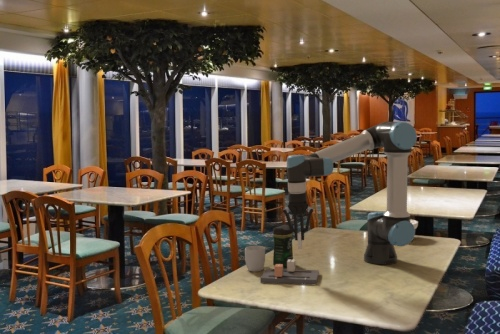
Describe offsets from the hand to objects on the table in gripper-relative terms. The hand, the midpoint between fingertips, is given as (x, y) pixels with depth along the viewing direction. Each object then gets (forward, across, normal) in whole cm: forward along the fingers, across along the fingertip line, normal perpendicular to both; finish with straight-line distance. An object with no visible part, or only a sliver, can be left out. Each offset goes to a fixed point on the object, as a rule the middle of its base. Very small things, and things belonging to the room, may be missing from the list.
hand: (300, 247), depth 231 cm
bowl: (+16, -47, -79) cm, 93 cm away
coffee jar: (+13, +10, -20) cm, 26 cm away
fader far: (+11, +5, -3) cm, 12 cm away
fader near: (+10, +9, +5) cm, 14 cm away
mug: (+13, +21, -13) cm, 28 cm away
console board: (+13, +5, +1) cm, 14 cm away
